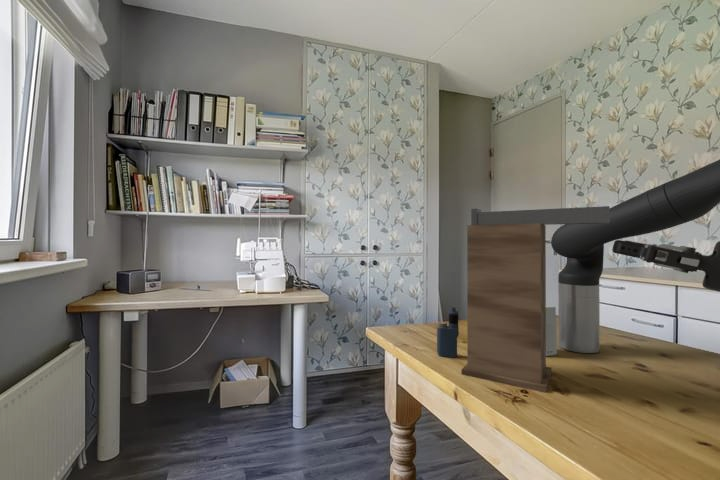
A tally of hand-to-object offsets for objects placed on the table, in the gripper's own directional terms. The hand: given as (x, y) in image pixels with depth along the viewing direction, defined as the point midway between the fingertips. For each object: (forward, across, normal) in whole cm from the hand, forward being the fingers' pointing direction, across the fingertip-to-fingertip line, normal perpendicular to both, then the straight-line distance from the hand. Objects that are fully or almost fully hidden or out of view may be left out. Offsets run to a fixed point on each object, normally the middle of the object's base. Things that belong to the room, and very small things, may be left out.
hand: (618, 245), depth 60 cm
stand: (+13, -1, +32) cm, 34 cm away
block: (+15, -2, -1) cm, 15 cm away
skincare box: (+12, -21, +32) cm, 40 cm away
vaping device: (+27, -2, +35) cm, 44 cm away
